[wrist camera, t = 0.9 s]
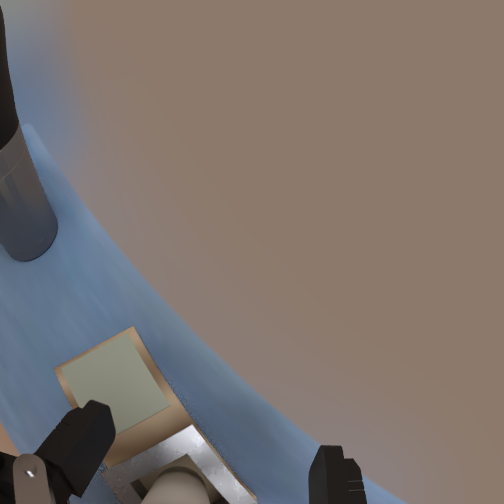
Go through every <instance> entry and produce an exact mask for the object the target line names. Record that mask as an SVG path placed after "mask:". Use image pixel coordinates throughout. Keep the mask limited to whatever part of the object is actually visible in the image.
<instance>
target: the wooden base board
mask: <svg viewBox="0 0 504 504" xmlns="http://www.w3.org/2000/svg"><path fill="white" fill-rule="evenodd" d="M54 370H55V373H56V375H57V377H58V380H59V382H60V384H61V386H62V388H63V391H64V393H65V395H66V397H67V399H68V401H69V403H70V405H71V407H72V409H75V408H77V407H80V408H83V407H84V406H85V405H86V403H87V402H88V401H89V400H95V401H98V402H101V403H103V404H106V405H108V406H109V407H110V409H111V413H112V417H113V421H114V425H115V429H116V436H115V440H114V442H113V444H112V446H111V447H110V449H109V451H108V452H107V454H106V456H105V457H104V459H103V462H104V463H105V465H106V466H107V468H108V469H107V470H105V471H103V472H101V473H100V474H101V476H102V477H103V479H104V480H105V482H106V483H107V484H108V486H109V487H110V489H111V490H112V491H113V493H114V494H115V495H116V497H117V498H118V499H119V501H120V502H121V503H122V504H141V503H142V501H143V500H144V498H145V496H146V495H147V493H148V492H149V490H150V489H151V487H152V485H153V484H154V482H155V481H156V479H157V477H158V476H159V474H160V473H161V472H162V471H163V470H165V469H167V468H169V467H173V466H183V467H188V468H190V469H192V470H194V471H196V472H197V473H198V474H199V475H200V476H201V477H202V478H203V480H204V482H205V485H206V490H207V494H208V498H209V502H210V504H259V503H258V502H257V501H256V500H255V499H257V497H256V496H255V495H254V494H253V493H252V492H251V491H250V490H249V489H248V487H247V486H246V485H245V484H244V483H243V482H242V481H241V480H240V479H239V477H238V476H237V475H236V474H235V473H234V472H233V470H232V469H231V468H230V467H229V466H228V465H227V463H226V462H225V461H224V460H223V459H222V457H221V456H220V455H219V454H218V452H217V451H216V450H215V449H214V447H213V446H212V445H211V444H210V442H209V441H208V440H207V438H206V437H205V436H204V434H203V433H202V432H201V430H200V429H199V428H198V426H197V425H196V424H195V422H194V421H193V420H192V418H191V417H190V415H189V414H188V413H187V411H186V410H185V408H184V407H183V405H182V404H181V403H180V401H179V400H178V398H177V397H176V395H175V394H174V392H173V391H172V389H171V388H170V386H169V385H168V383H167V382H166V380H165V378H164V377H163V375H162V374H161V372H160V371H159V369H158V367H157V366H156V364H155V362H154V361H153V359H152V357H151V356H150V354H149V352H148V351H147V349H146V347H145V346H144V344H143V342H142V340H141V339H140V337H139V335H138V333H137V332H136V330H135V328H134V326H132V327H130V328H128V329H127V330H125V331H123V332H121V333H119V334H117V335H115V336H114V337H112V338H110V339H108V340H106V341H104V342H102V343H100V344H99V345H97V346H95V347H93V348H91V349H89V350H87V351H85V352H84V353H82V354H80V355H78V356H76V357H74V358H72V359H70V360H68V361H67V362H65V363H63V364H61V365H59V366H57V367H55V368H54Z"/></svg>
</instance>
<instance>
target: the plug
mask: <svg viewBox="0 0 504 504" xmlns="http://www.w3.org/2000/svg"><path fill="white" fill-rule="evenodd" d="M141 504H210V502H209V498H208V494H207V490H206V485H205V482H204V480H203V478H202V477H201V476H200V475H199V474H198V473H197V472H196V471H194V470H192V469H190V468H188V467H183V466H173V467H169V468H167V469H165V470H163V471H162V472H161V473H160V474H159V476H158V477H157V479H156V481H155V482H154V484H153V485H152V487H151V489H150V490H149V492H148V493H147V495H146V496H145V498H144V500H143V501H142V503H141Z"/></svg>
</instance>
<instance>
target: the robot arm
mask: <svg viewBox="0 0 504 504" xmlns="http://www.w3.org/2000/svg"><path fill="white" fill-rule="evenodd" d="M5 38H6V37H5V26H4V18H3V13H2V9H1V6H0V242H1V244H2V245H3V246H4V248H5V249H6V250H7V252H8V253H9V254H10V256H11V257H12V258H14V259H15V260H18V261H28V260H32V259H34V258H37V257H38V256H40V255H41V254H43V253H44V252H45V251H46V250H47V249H48V248H49V246H50V245H51V244H52V242H53V240H54V238H55V236H56V233H57V227H58V226H57V220H56V217H55V215H54V212H53V210H52V208H51V206H50V204H49V201H48V199H47V196H46V194H45V192H44V189H43V187H42V185H41V182H40V180H39V177H38V175H37V172H36V170H35V167H34V164H33V162H32V159H31V156H30V153H29V151H28V148H27V145H26V142H25V139H24V136H23V133H22V130H21V127H20V124H19V120H18V117H17V113H16V109H15V102H14V95H13V89H12V84H11V80H10V74H9V68H8V61H7V52H6V39H5ZM115 436H116V429H115V425H114V421H113V417H112V413H111V409H110V407H109V406H108V405H106V404H103V403H101V402H98V401H95V400H89V401H88V402H87V403H86V405H85V406H84V407H83V408H80V407H77V408H75V409H73V410H71V411H69V412H68V413H67V414H66V415H65V416H64V418H63V419H62V420H61V423H60V422H59V424H58V425H57V426H56V429H54V430H53V431H52V432H51V434H50V435H49V436H48V437H47V438H46V440H45V441H44V442H43V443H42V445H41V446H40V447H39V448H38V450H37V451H36V452H35V453H34V454H23V455H20V456H19V457H15V456H12V455H9V454H6V453H3V452H0V504H70V502H69V497H70V495H71V494H74V495H76V496H78V497H80V498H81V497H82V495H83V493H84V491H85V490H86V488H87V486H88V485H89V483H90V481H91V480H92V478H93V476H94V474H95V473H96V471H97V469H98V468H99V466H100V464H101V463H102V461H103V459H104V457H105V456H106V454H107V452H108V451H109V449H110V447H111V446H112V444H113V442H114V440H115ZM308 481H309V504H367V500H366V495H365V491H364V485H363V482H362V475H361V470H360V467H359V466H358V465H357V463H356V462H355V461H354V459H353V458H352V459H344V456H343V450H342V447H341V446H330V445H321V446H320V447H319V449H318V452H317V454H316V456H315V458H314V461H313V463H312V465H311V467H310V471H309V479H308Z"/></svg>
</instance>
